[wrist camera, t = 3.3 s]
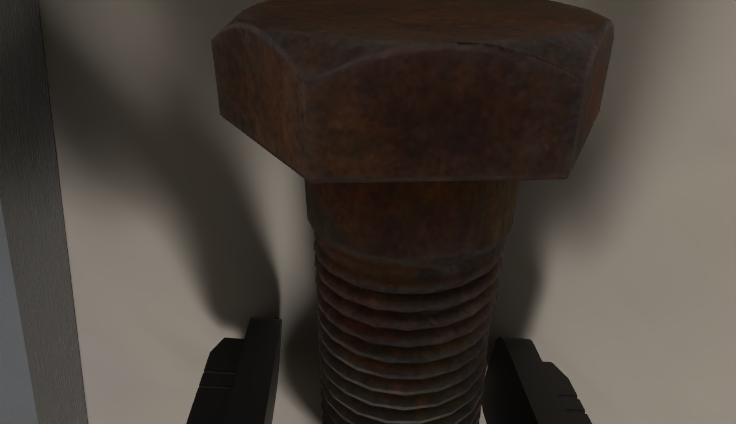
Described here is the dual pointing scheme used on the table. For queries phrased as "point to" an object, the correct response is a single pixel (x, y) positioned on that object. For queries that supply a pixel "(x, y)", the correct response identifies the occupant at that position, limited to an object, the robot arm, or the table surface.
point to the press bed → (33, 240)
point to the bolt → (411, 171)
